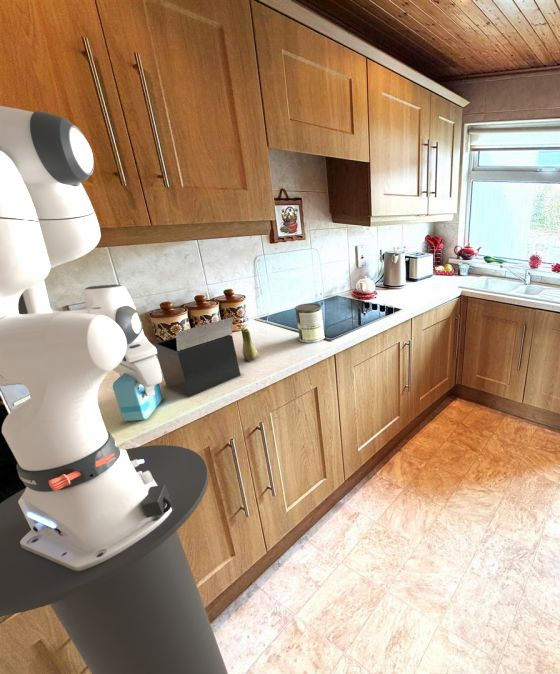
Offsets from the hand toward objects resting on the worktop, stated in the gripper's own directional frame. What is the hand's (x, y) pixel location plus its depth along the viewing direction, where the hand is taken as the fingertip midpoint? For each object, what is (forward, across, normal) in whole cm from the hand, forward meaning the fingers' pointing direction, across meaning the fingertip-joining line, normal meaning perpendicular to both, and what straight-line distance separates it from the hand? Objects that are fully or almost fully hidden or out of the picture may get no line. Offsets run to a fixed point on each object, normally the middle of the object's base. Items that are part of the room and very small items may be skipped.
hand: (140, 390), depth 97 cm
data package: (+6, 0, -1) cm, 6 cm away
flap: (-12, +4, +18) cm, 22 cm away
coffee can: (+8, -2, +61) cm, 62 cm away
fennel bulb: (+7, -5, +35) cm, 36 cm away
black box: (+6, -3, +17) cm, 19 cm away
